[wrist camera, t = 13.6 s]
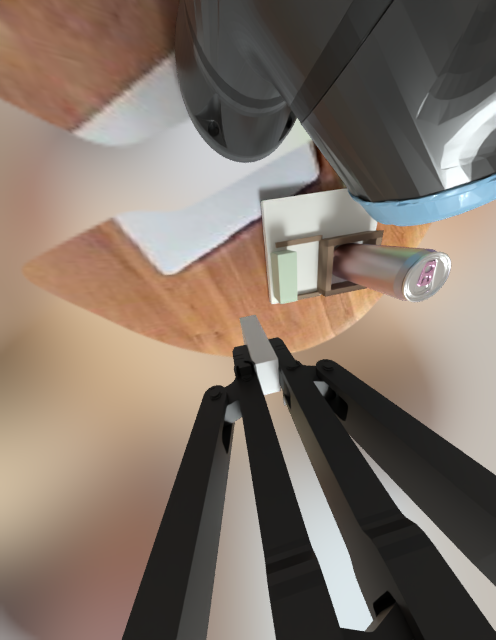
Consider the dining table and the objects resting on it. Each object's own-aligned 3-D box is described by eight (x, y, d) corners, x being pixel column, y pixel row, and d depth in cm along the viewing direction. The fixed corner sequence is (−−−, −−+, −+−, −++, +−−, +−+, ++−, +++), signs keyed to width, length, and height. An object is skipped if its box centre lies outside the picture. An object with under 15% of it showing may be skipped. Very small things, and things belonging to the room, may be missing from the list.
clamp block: (270, 252, 30) (277, 255, 27) (287, 249, 30) (296, 251, 27) (273, 296, 34) (280, 304, 30) (288, 293, 34) (297, 300, 31)
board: (260, 202, 28) (264, 199, 26) (376, 184, 30) (387, 181, 28) (269, 301, 36) (272, 305, 34) (361, 283, 38) (368, 286, 36)
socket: (318, 239, 31) (328, 240, 28) (369, 230, 31) (383, 230, 29) (316, 291, 35) (325, 296, 32) (361, 282, 36) (373, 286, 33)
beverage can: (358, 239, 32) (462, 245, 19) (354, 273, 35) (441, 298, 21) (327, 245, 31) (411, 255, 18) (325, 278, 34) (397, 308, 21)
